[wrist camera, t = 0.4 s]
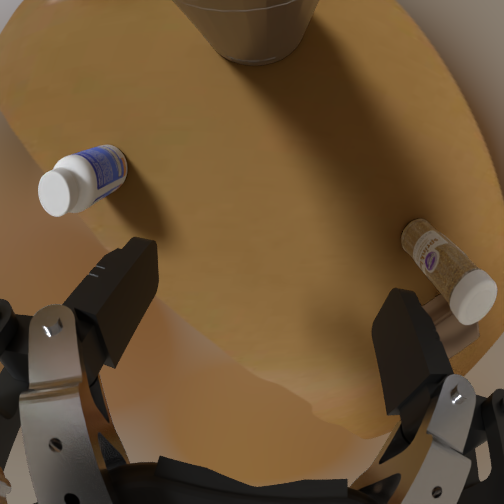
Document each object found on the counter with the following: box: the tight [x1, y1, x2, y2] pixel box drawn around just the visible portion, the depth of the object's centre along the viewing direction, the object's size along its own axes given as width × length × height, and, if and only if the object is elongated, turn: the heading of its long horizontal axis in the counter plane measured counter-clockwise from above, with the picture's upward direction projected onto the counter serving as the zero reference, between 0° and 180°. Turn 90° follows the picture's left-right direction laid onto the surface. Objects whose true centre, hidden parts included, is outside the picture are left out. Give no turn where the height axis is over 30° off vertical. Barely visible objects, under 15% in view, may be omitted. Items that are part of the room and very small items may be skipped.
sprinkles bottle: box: [401, 219, 497, 325], centre depth 22 cm, size 5×5×14 cm
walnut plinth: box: [422, 294, 480, 359], centre depth 32 cm, size 11×11×4 cm
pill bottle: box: [38, 145, 127, 217], centre depth 22 cm, size 5×5×10 cm
